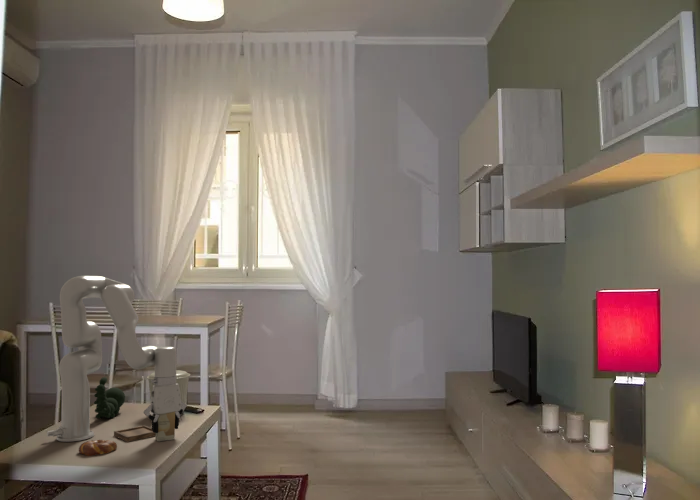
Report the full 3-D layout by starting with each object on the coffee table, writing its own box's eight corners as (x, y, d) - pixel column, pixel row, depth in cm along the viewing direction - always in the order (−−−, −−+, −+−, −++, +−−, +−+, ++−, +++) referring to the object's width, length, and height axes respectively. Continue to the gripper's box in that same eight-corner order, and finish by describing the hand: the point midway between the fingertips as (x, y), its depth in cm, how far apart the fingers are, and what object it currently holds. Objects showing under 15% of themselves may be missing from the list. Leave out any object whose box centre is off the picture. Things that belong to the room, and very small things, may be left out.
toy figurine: (112, 426, 237) (130, 407, 262) (110, 380, 237) (129, 366, 262) (88, 427, 237) (108, 408, 262) (87, 381, 236) (107, 366, 261)
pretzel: (118, 446, 204) (118, 435, 204) (115, 455, 193) (115, 443, 194) (81, 448, 201) (81, 438, 201) (75, 458, 190) (76, 446, 190)
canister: (179, 419, 241) (179, 368, 242) (138, 418, 243) (138, 367, 244) (197, 409, 258) (197, 362, 259) (159, 408, 261) (159, 361, 262)
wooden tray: (127, 441, 208) (127, 437, 208) (113, 435, 216) (113, 431, 216) (159, 435, 216) (159, 430, 216) (144, 429, 225) (144, 425, 225)
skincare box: (157, 441, 207) (157, 407, 208) (155, 439, 211) (155, 405, 212) (175, 439, 210) (175, 405, 211) (173, 436, 214) (173, 403, 214)
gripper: (147, 385, 203) (147, 437, 202) (192, 379, 215) (192, 427, 214) (137, 383, 208) (137, 433, 207) (182, 376, 220) (182, 424, 219)
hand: (165, 430), depth 211 cm, fingers closed on skincare box, 7 cm apart
